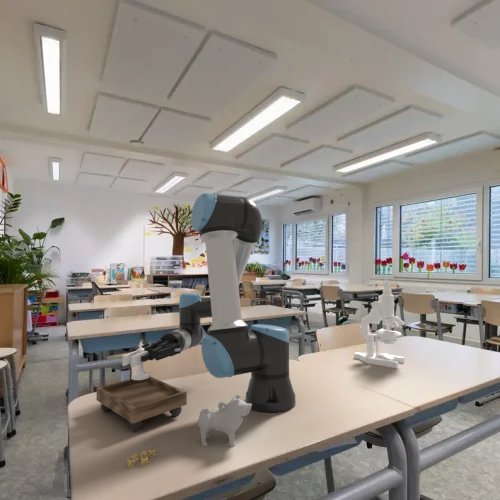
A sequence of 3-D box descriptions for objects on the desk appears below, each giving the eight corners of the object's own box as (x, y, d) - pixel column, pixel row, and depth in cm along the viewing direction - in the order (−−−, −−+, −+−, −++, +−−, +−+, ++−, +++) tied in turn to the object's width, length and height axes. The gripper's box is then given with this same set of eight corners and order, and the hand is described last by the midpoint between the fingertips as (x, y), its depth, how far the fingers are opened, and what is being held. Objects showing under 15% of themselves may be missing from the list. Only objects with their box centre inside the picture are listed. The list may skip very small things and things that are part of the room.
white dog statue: (251, 447, 80) (251, 400, 80) (196, 446, 81) (196, 400, 81) (252, 436, 85) (252, 392, 86) (200, 435, 86) (200, 391, 86)
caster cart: (186, 415, 97) (186, 391, 97) (132, 436, 86) (132, 409, 86) (146, 395, 112) (146, 375, 113) (96, 410, 101) (96, 387, 101)
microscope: (376, 369, 138) (374, 281, 139) (351, 357, 157) (350, 279, 158) (415, 366, 142) (412, 280, 143) (386, 354, 161) (384, 278, 162)
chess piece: (152, 375, 101) (153, 340, 102) (142, 381, 97) (142, 344, 97) (138, 373, 103) (139, 339, 103) (127, 379, 98) (128, 343, 99)
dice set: (156, 456, 78) (156, 447, 78) (149, 470, 73) (149, 460, 73) (133, 457, 78) (133, 448, 78) (125, 470, 72) (125, 461, 72)
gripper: (194, 355, 114) (150, 378, 92) (155, 351, 119) (105, 372, 97) (195, 332, 114) (151, 349, 92) (156, 329, 120) (105, 345, 97)
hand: (127, 361), depth 95 cm, fingers closed on chess piece, 2 cm apart
